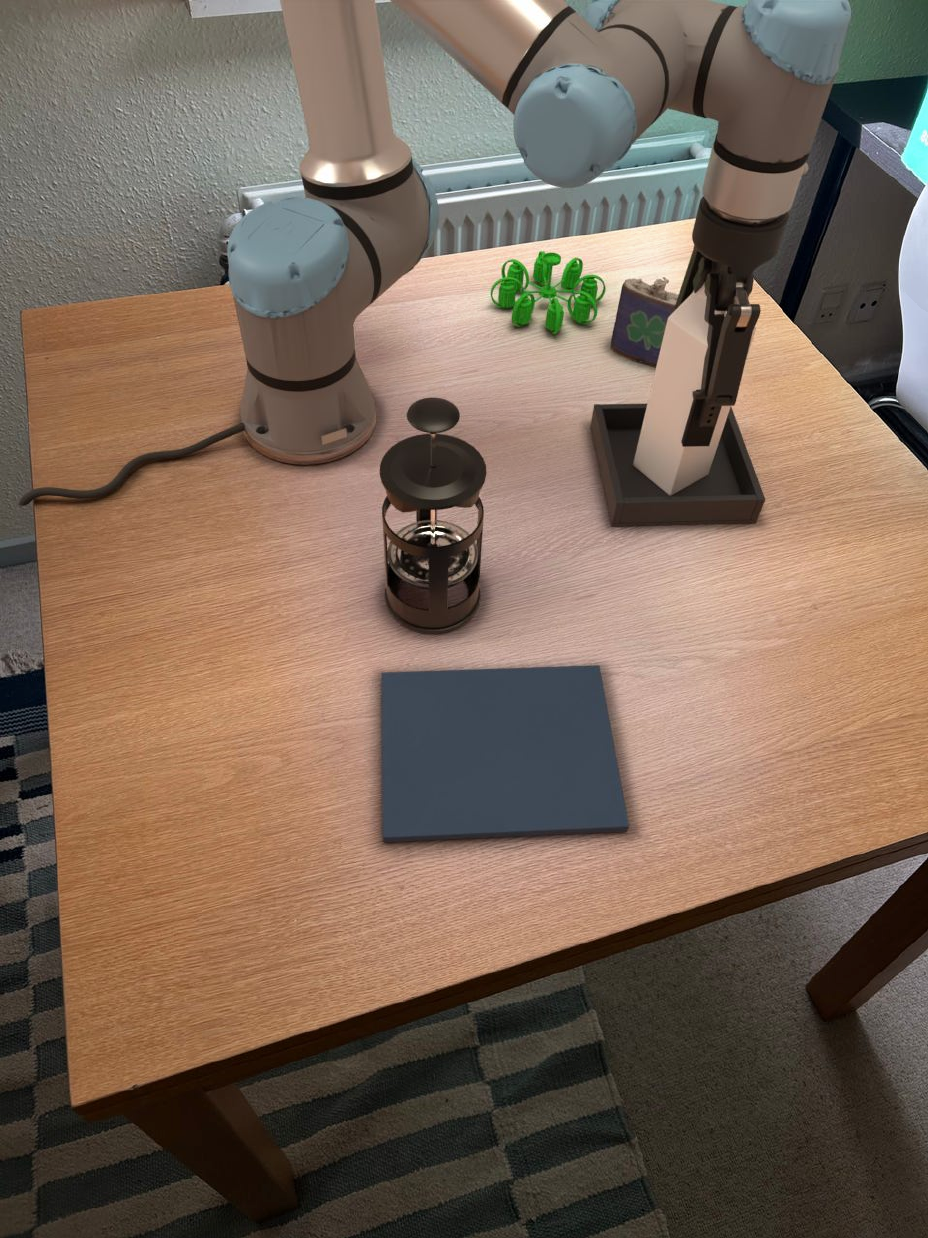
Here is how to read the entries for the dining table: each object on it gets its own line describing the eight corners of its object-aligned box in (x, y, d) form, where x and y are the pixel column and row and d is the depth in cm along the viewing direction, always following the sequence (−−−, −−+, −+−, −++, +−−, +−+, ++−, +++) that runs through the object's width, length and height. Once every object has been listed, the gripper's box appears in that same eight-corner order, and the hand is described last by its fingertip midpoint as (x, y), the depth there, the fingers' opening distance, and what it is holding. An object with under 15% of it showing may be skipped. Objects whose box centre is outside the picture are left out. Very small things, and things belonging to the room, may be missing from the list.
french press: (488, 635, 87) (503, 453, 69) (389, 644, 86) (378, 461, 68) (471, 544, 94) (480, 357, 76) (379, 551, 93) (367, 363, 75)
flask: (682, 362, 114) (702, 284, 105) (674, 375, 112) (694, 297, 104) (614, 338, 116) (628, 261, 108) (605, 351, 115) (619, 273, 106)
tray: (611, 526, 96) (616, 503, 94) (589, 428, 106) (594, 403, 103) (756, 523, 97) (765, 499, 94) (722, 425, 107) (729, 401, 104)
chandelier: (613, 338, 116) (622, 289, 111) (496, 342, 115) (500, 293, 110) (592, 272, 125) (599, 224, 120) (483, 275, 124) (486, 226, 119)
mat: (383, 843, 74) (382, 837, 73) (381, 678, 84) (381, 672, 83) (627, 831, 75) (629, 826, 74) (597, 671, 85) (599, 664, 84)
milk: (670, 497, 99) (721, 320, 81) (631, 465, 101) (673, 287, 84) (709, 474, 101) (768, 297, 83) (670, 443, 104) (719, 266, 86)
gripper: (827, 272, 71) (746, 485, 89) (757, 143, 84) (699, 352, 102) (732, 273, 70) (670, 487, 88) (676, 143, 83) (632, 353, 101)
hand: (685, 414), depth 95 cm, fingers closed on milk, 8 cm apart
